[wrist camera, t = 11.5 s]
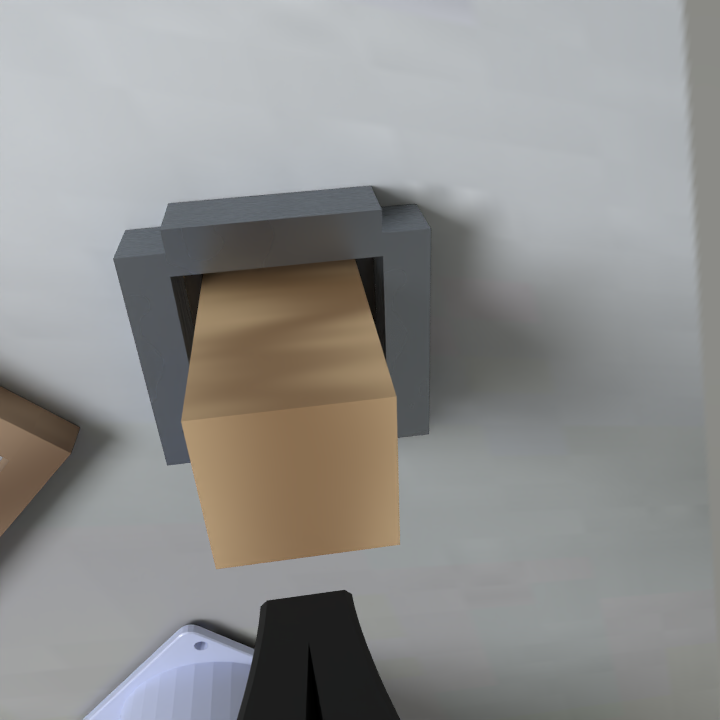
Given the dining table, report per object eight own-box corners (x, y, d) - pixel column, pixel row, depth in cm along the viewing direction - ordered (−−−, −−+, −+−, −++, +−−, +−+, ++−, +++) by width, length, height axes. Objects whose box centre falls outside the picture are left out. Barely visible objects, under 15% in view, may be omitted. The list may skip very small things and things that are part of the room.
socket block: (416, 181, 18) (431, 205, 16) (416, 413, 22) (428, 449, 20) (119, 207, 17) (106, 234, 16) (177, 442, 21) (171, 481, 20)
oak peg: (351, 249, 19) (396, 396, 13) (359, 371, 21) (400, 544, 15) (204, 264, 18) (180, 421, 12) (227, 385, 21) (216, 569, 15)
